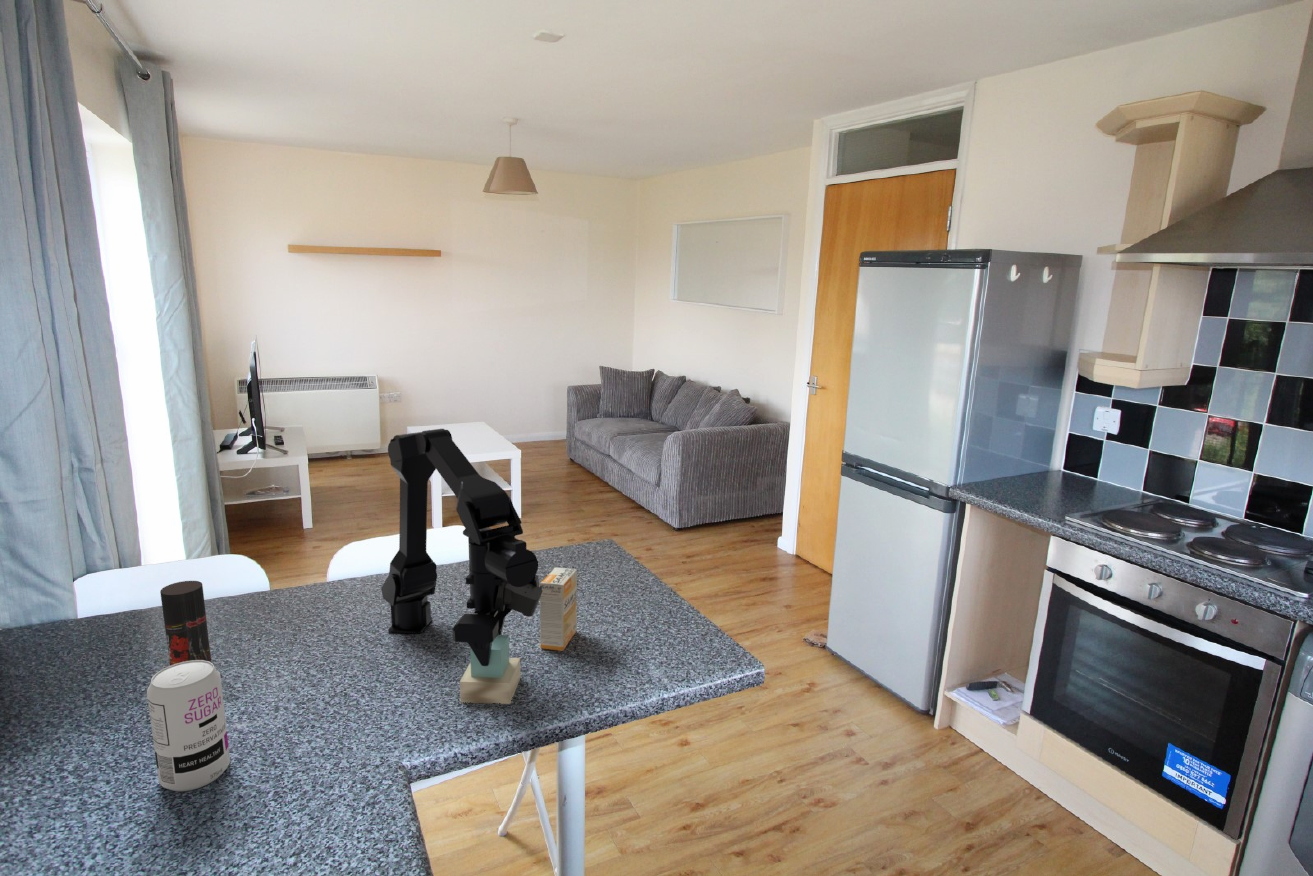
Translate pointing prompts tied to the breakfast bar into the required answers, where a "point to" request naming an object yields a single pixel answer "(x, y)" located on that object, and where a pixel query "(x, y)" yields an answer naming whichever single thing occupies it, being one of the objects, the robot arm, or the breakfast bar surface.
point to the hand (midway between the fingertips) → (490, 656)
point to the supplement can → (188, 725)
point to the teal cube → (492, 659)
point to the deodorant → (185, 622)
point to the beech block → (491, 685)
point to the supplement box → (558, 608)
